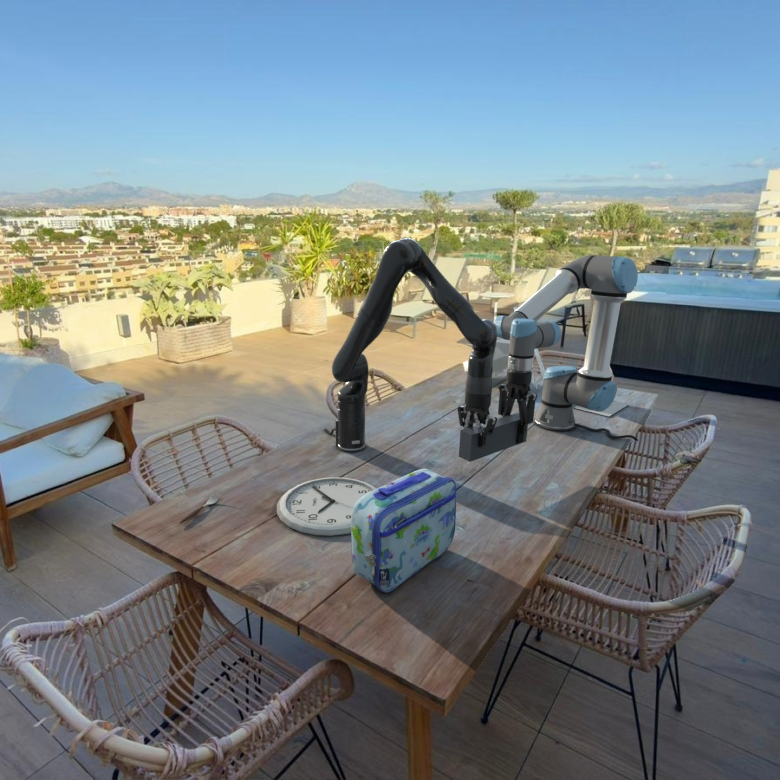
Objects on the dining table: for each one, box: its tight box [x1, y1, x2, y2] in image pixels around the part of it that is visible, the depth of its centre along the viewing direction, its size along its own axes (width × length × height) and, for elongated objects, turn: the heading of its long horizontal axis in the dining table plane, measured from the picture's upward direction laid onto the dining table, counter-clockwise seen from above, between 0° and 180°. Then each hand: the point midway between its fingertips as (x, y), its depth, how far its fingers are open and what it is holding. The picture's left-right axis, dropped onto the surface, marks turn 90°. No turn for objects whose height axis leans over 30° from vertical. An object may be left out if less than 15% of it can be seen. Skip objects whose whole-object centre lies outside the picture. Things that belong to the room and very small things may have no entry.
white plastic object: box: [462, 306, 546, 390], centre depth 260 cm, size 37×45×31 cm
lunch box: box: [350, 468, 457, 593], centre depth 114 cm, size 26×11×21 cm, turn 134°
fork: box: [178, 489, 223, 525], centre depth 139 cm, size 3×16×2 cm, turn 160°
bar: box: [458, 412, 529, 463], centre depth 161 cm, size 26×5×9 cm, turn 128°
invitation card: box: [573, 400, 629, 418], centre depth 226 cm, size 21×1×15 cm
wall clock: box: [276, 476, 378, 537], centre depth 142 cm, size 30×2×30 cm
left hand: (474, 443), depth 156 cm, fingers closed on bar, 4 cm apart
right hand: (513, 439), depth 168 cm, fingers closed on bar, 5 cm apart
